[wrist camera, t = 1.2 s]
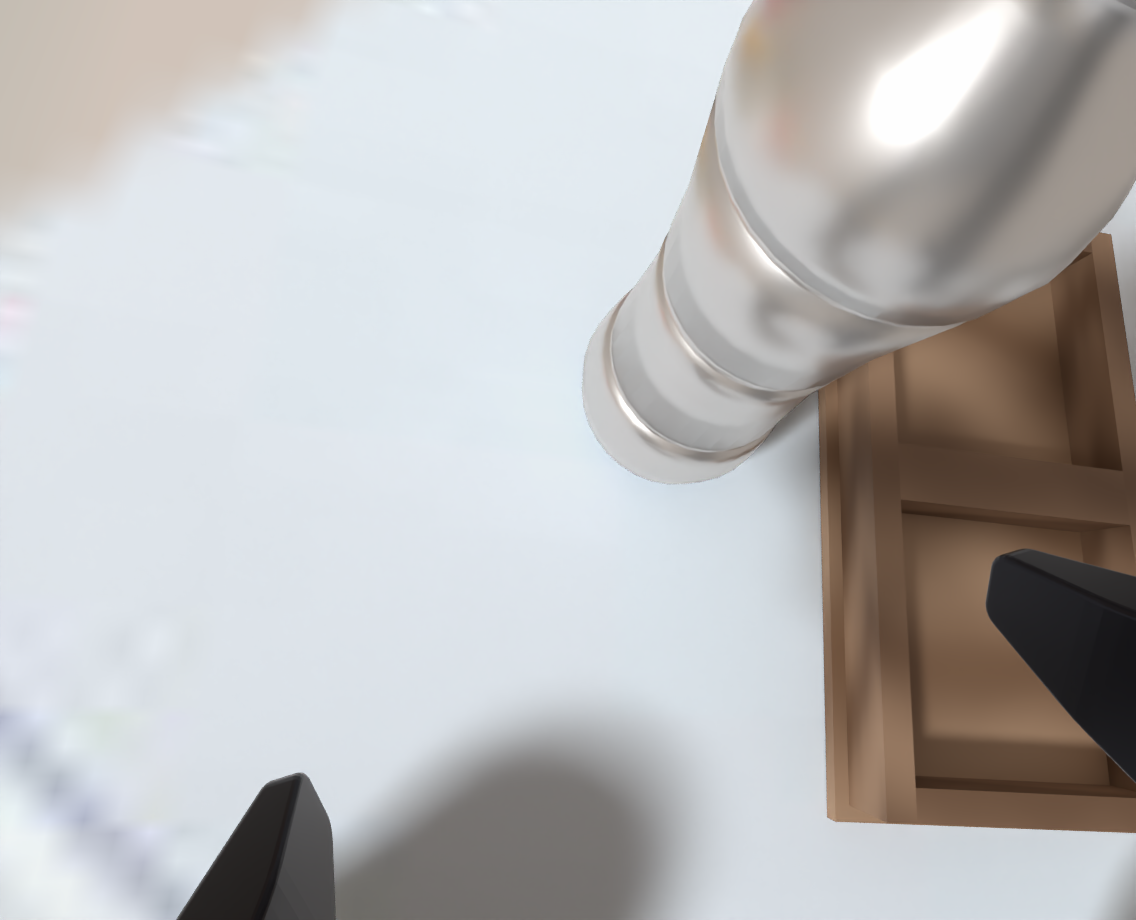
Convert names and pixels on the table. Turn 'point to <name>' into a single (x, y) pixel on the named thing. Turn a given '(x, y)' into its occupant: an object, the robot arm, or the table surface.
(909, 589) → the wooden divided tray
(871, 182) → the silver metal bottle
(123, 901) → the table surface
